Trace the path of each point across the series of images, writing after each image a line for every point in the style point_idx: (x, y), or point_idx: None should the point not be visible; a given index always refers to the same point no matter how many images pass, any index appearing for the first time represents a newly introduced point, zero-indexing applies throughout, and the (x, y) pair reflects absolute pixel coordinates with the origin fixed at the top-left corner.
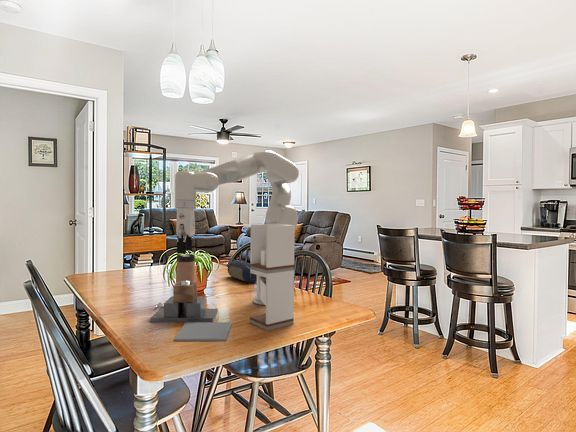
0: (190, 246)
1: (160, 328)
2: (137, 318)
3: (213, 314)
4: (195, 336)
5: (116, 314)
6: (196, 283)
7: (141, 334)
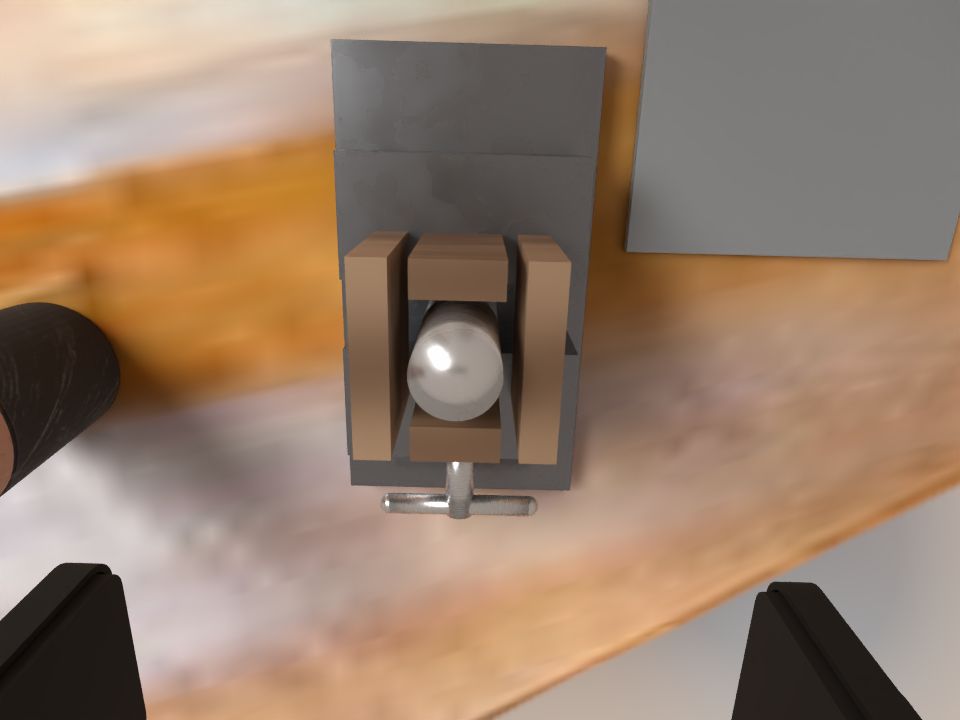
0: (64, 662)
1: (689, 389)
2: (483, 563)
3: (506, 54)
4: (936, 125)
5: (404, 684)
6: (376, 255)
7: (780, 462)
